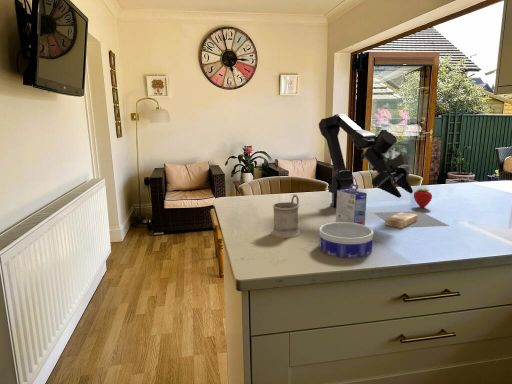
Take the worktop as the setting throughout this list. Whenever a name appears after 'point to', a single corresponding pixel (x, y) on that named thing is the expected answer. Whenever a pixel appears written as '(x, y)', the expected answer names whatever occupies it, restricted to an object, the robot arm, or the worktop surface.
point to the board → (401, 219)
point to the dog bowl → (345, 239)
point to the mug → (286, 219)
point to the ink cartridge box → (351, 205)
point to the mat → (422, 221)
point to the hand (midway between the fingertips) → (406, 194)
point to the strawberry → (422, 197)
